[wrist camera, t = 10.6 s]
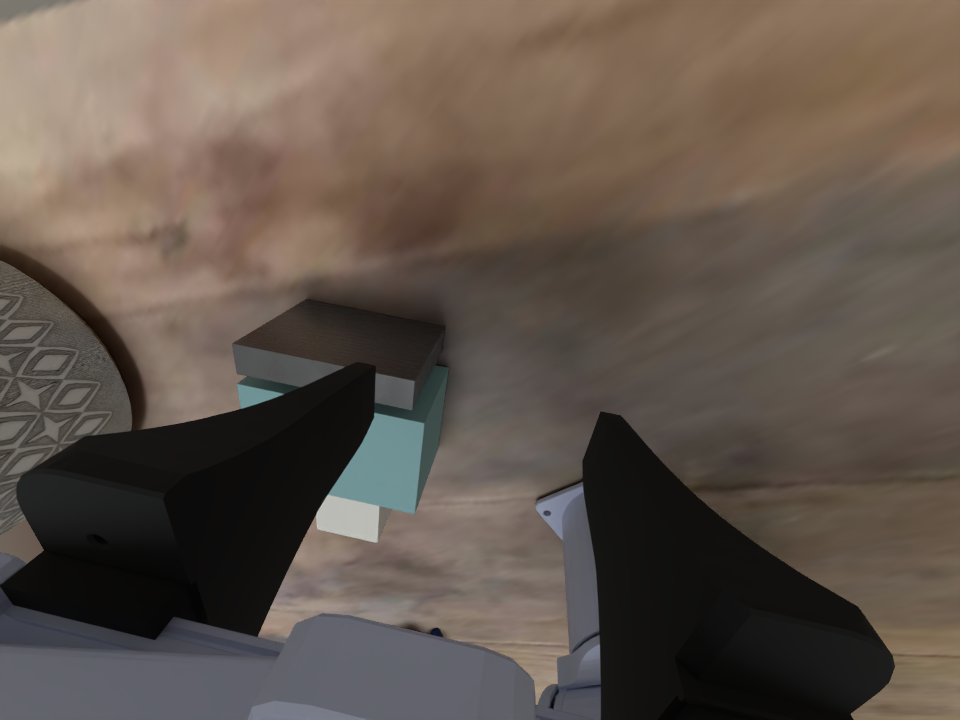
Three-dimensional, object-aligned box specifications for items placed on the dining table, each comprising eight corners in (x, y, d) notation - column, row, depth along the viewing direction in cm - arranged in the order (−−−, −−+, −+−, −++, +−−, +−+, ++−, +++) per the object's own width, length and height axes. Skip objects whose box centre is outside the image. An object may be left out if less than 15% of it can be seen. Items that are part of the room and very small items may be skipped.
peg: (397, 495, 29) (377, 542, 25) (344, 483, 29) (317, 528, 25) (407, 378, 24) (384, 416, 20) (343, 365, 24) (309, 400, 20)
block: (438, 447, 25) (414, 514, 21) (305, 419, 26) (252, 477, 21) (448, 367, 23) (424, 423, 18) (299, 337, 23) (236, 383, 18)
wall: (442, 350, 22) (412, 410, 17) (307, 323, 23) (236, 373, 17) (445, 326, 22) (414, 381, 16) (306, 299, 22) (231, 343, 17)
